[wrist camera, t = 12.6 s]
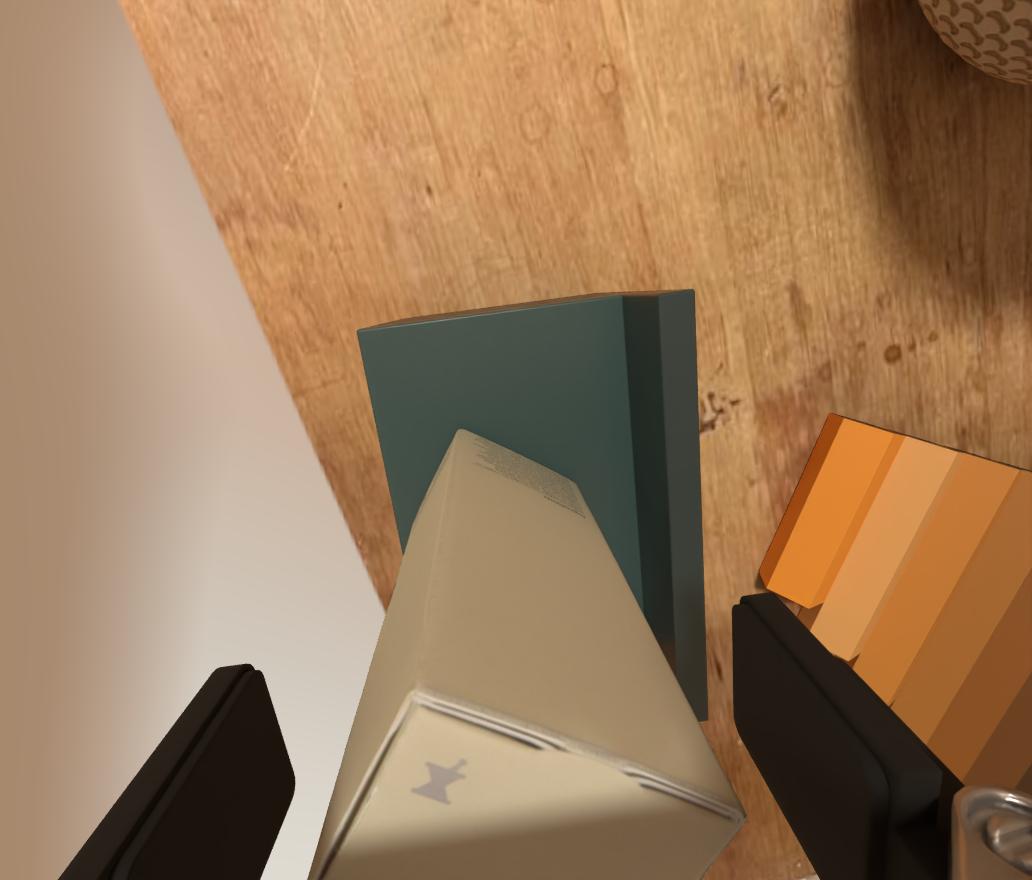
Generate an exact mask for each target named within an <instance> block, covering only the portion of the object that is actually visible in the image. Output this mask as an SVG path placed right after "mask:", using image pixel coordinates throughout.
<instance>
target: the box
mask: <svg viewBox="0 0 1032 880" xmlns="http://www.w3.org/2000/svg"><path fill="white" fill-rule="evenodd" d="M746 819H747V815H746V813H745V811H744V808H743V806H742V804H741V803H740V801H739V799H738V797H737V795H736V793H735V791H734V790H733V788H732V786H731V784H730V782H729V780H728V778H727V776H726V774H725V772H724V770H723V768H722V766H721V764H720V763H719V761H718V759H717V757H716V755H715V753H714V751H713V749H712V748H711V746H710V744H709V742H708V740H707V738H706V736H705V734H704V732H703V730H702V728H701V726H700V724H699V722H698V720H697V718H696V716H695V714H694V712H693V710H692V708H691V706H690V705H689V703H688V701H687V699H686V697H685V695H684V693H683V691H682V689H681V687H680V685H679V683H678V681H677V679H676V677H675V675H674V673H673V672H672V670H671V668H670V666H669V664H668V662H667V660H666V658H665V656H664V654H663V652H662V650H661V648H660V646H659V644H658V642H657V640H656V638H655V636H654V634H653V632H652V630H651V628H650V626H649V624H648V623H647V621H646V619H645V617H644V615H643V613H642V611H641V609H640V607H639V605H638V603H637V601H636V599H635V597H634V595H633V593H632V591H631V589H630V587H629V585H628V583H627V581H626V579H625V577H624V575H623V573H622V571H621V569H620V567H619V565H618V563H617V561H616V559H615V558H614V556H613V554H612V552H611V550H610V548H609V546H608V544H607V542H606V540H605V538H604V536H603V534H602V532H601V530H600V528H599V526H598V524H597V522H596V520H595V519H594V517H593V515H592V513H591V511H590V509H589V507H588V505H587V503H586V501H585V499H584V497H583V495H582V493H581V491H580V489H579V487H578V485H577V484H576V483H575V482H573V481H571V480H569V479H568V478H566V477H564V476H562V475H560V474H558V473H556V472H554V471H552V470H550V469H548V468H546V467H544V466H542V465H540V464H538V463H536V462H534V461H532V460H530V459H528V458H526V457H524V456H522V455H520V454H517V453H515V452H513V451H511V450H509V449H507V448H505V447H503V446H500V445H498V444H496V443H494V442H492V441H489V440H487V439H485V438H483V437H480V436H478V435H476V434H474V433H472V432H469V431H467V430H464V429H459V430H458V431H457V432H456V434H455V436H454V439H453V441H452V442H451V444H450V446H449V448H448V450H447V452H446V454H445V456H444V458H443V460H442V462H441V464H440V466H439V468H438V470H437V472H436V474H435V476H434V478H433V480H432V482H431V484H430V487H429V489H428V491H427V493H426V495H425V497H424V499H423V502H422V504H421V506H420V508H419V511H418V513H417V515H416V518H415V520H414V523H413V525H412V529H411V533H410V536H409V539H408V543H407V546H406V549H405V553H404V556H403V559H402V563H401V566H400V569H399V573H398V576H397V580H396V583H395V586H394V590H393V593H392V595H391V599H390V603H389V607H388V610H387V613H386V616H385V619H384V622H383V625H382V629H381V632H380V636H379V639H378V642H377V646H376V649H375V652H374V655H373V659H372V662H371V665H370V669H369V672H368V675H367V679H366V682H365V686H364V689H363V693H362V696H361V699H360V702H359V706H358V709H357V712H356V716H355V719H354V722H353V726H352V729H351V732H350V735H349V739H348V742H347V745H346V749H345V753H344V756H343V760H342V763H341V767H340V770H339V773H338V776H337V780H336V783H335V787H334V790H333V794H332V797H331V800H330V803H329V807H328V810H327V814H326V817H325V821H324V824H323V828H322V832H321V835H320V839H319V842H318V846H317V849H316V852H315V856H314V859H313V863H312V866H311V870H310V872H309V876H308V879H307V880H701V878H702V877H703V876H704V874H705V873H706V872H707V870H708V869H709V868H710V866H711V865H712V864H713V863H714V861H715V860H716V859H717V858H718V856H719V855H720V854H721V853H722V851H723V850H724V849H725V848H726V846H727V845H728V844H729V842H730V841H731V840H732V839H733V837H734V836H735V835H736V833H737V832H738V831H739V830H740V828H741V827H742V826H743V824H744V823H745V822H746Z"/></svg>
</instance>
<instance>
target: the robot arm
mask: <svg viewBox="0 0 1032 880" xmlns="http://www.w3.org/2000/svg"><path fill="white" fill-rule="evenodd" d="M732 642H733V707H734V720H735V724H736V728H737V731H738V733H739V735H740V737H741V739H742V741H743V743H744V744H745V746H746V748H747V750H748V752H749V753H750V755H751V757H752V759H753V761H754V762H755V764H756V766H757V768H758V769H759V771H760V773H761V775H762V777H763V778H764V780H765V782H766V784H767V786H768V787H769V789H770V791H771V793H772V794H773V796H774V798H775V800H776V802H777V803H778V805H779V807H780V809H781V811H782V812H783V814H784V816H785V818H786V819H787V821H788V823H789V825H790V827H791V828H792V830H793V832H794V834H795V836H796V837H797V839H798V841H799V843H800V844H801V846H802V848H803V850H804V852H805V853H806V855H807V857H808V859H809V861H810V862H811V864H812V866H813V868H814V869H815V871H816V873H817V875H818V877H819V878H820V880H1032V795H1029V794H1027V793H1025V792H1022V791H1020V790H1017V789H1013V788H1009V787H1005V786H1002V785H998V784H982V783H978V784H973V785H969V786H965V785H964V784H963V783H962V782H961V781H960V780H959V779H958V778H957V777H956V776H955V775H954V774H953V773H952V772H951V771H950V769H949V768H948V767H947V766H946V765H945V764H944V763H943V762H942V761H941V760H940V759H939V758H938V757H937V756H936V755H935V754H934V753H933V752H932V751H931V750H930V749H929V748H928V747H927V746H926V745H925V744H924V743H923V741H922V740H921V739H920V738H919V737H918V736H917V735H916V734H915V733H914V732H913V731H912V730H911V729H910V728H909V727H908V726H907V725H906V724H905V723H904V722H903V721H902V720H901V719H900V718H899V717H898V716H897V715H896V713H895V712H894V711H893V710H892V709H891V708H890V707H889V706H888V705H887V704H886V703H885V702H884V701H883V700H882V699H881V698H880V697H879V696H878V695H877V694H876V693H875V692H874V691H873V690H872V689H871V688H870V687H869V685H868V684H867V683H866V682H865V681H864V680H863V679H862V678H861V677H860V676H859V675H858V674H857V673H856V672H855V671H854V670H853V669H852V668H851V667H850V666H849V665H848V664H847V663H846V662H844V661H843V660H842V659H840V658H837V657H834V656H833V655H832V654H831V653H830V652H829V651H828V650H827V649H826V648H825V646H824V645H823V644H822V643H821V642H820V641H819V640H818V639H817V638H816V637H815V636H814V635H813V634H812V633H811V632H810V631H809V630H808V628H807V627H806V626H805V625H804V624H803V623H802V622H801V621H800V620H799V619H798V618H797V617H796V616H795V615H794V614H793V613H792V612H791V611H790V609H789V608H788V607H787V606H786V605H785V604H784V603H783V602H782V601H781V600H780V599H779V598H778V597H777V596H776V595H775V594H774V593H771V592H769V593H761V594H754V595H747V596H743V597H741V599H740V604H738V605H734V606H733V608H732ZM294 791H295V776H294V771H293V768H292V765H291V762H290V759H289V755H288V753H287V749H286V746H285V743H284V740H283V736H282V733H281V730H280V726H279V724H278V720H277V717H276V714H275V710H274V707H273V704H272V701H271V698H270V694H269V691H268V688H267V685H266V682H265V678H264V675H263V674H262V672H261V671H260V670H255V669H254V667H253V666H252V665H251V664H241V665H233V666H226V667H220V668H217V669H216V670H215V671H214V672H213V673H212V674H211V676H210V677H209V678H208V680H207V681H206V682H205V684H204V685H203V686H202V688H201V689H200V690H199V692H198V693H197V694H196V696H195V697H194V698H193V700H192V701H191V703H190V704H189V705H188V706H187V708H186V709H185V710H184V712H183V713H182V714H181V716H180V717H179V718H178V720H177V721H176V722H175V724H174V725H173V726H172V728H171V729H170V730H169V732H168V733H167V734H166V736H165V737H164V738H163V740H162V741H161V743H160V744H159V745H158V746H157V748H156V749H155V750H154V752H153V753H152V754H151V756H150V757H149V759H148V760H147V761H146V763H145V764H144V765H143V767H142V768H141V769H140V771H139V772H138V773H137V775H136V776H135V777H134V779H133V780H132V781H131V783H130V784H129V785H128V787H127V788H126V789H125V791H124V792H123V793H122V795H121V796H120V797H119V799H118V800H117V801H116V803H115V804H114V805H113V807H112V808H111V809H110V811H109V812H108V814H107V815H106V816H105V818H104V819H103V820H102V821H101V823H100V824H99V825H98V827H97V828H96V829H95V831H94V832H93V834H92V835H91V836H90V837H89V839H88V840H87V841H86V843H85V844H84V845H83V847H82V848H81V850H80V851H79V852H78V854H77V855H76V856H75V857H74V859H73V860H72V861H71V863H70V864H69V866H68V867H67V868H66V870H65V871H64V872H63V874H62V875H61V876H60V878H59V879H58V880H260V878H261V876H262V873H263V871H264V868H265V866H266V864H267V861H268V859H269V856H270V854H271V851H272V849H273V846H274V844H275V841H276V839H277V836H278V834H279V831H280V828H281V826H282V824H283V821H284V819H285V816H286V814H287V811H288V809H289V806H290V804H291V801H292V798H293V795H294Z"/></svg>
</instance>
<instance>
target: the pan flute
mask: <svg viewBox="0 0 1032 880" xmlns="http://www.w3.org/2000/svg"><path fill="white" fill-rule="evenodd" d="M759 573H760V575H761V577H762V580H763V582H764V584H765V586H766V588H767V589H769V590H771V591H773V592H775V593H777V594H779V595H781V596H784V597H786V598H788V599H790V600H792V601H794V602H796V603H798V604H800V605H802V608H801V610H800V612H799V615H798V617H797V618H798V619H799V620H800V621H801V622H802V623H803V624H804V625H805V626H806V627H807V628H808V630H809V631H810V632H811V633H812V634H813V635H814V636H815V637H816V638H817V639H818V640H819V641H820V642H821V643H822V644H823V645H824V646H825V648H826V649H827V650H828V651H829V652H831V653H833V654H835V655H836V656H835V657H837V658H840V659H842V660H843V661H844V662H846V663H847V664H848V665H849V666H850V667H851V668H852V669H853V670H854V671H855V672H856V673H857V674H858V675H859V676H860V677H861V678H862V679H863V680H864V681H865V682H866V683H867V684H868V685H869V687H870V688H871V689H872V690H873V691H874V692H875V693H876V694H877V695H878V696H879V697H880V698H881V699H882V700H883V701H884V702H885V703H886V704H887V705H888V706H889V707H890V708H891V709H892V710H893V711H894V712H895V713H896V715H897V716H898V717H899V718H900V719H901V720H902V721H903V722H904V723H905V724H906V725H907V726H908V727H909V728H910V729H911V730H912V731H913V732H914V733H915V734H916V735H917V736H918V737H919V738H920V739H921V740H922V741H923V743H924V744H925V745H926V746H927V747H928V748H929V749H930V750H931V751H932V752H933V753H934V754H935V755H936V756H937V757H938V758H939V759H940V760H941V761H942V762H943V763H944V764H945V765H946V766H947V767H948V768H949V769H950V771H951V772H952V773H953V774H954V775H955V776H956V777H957V778H958V779H959V780H960V781H961V782H962V783H963V784H964V785H965V786H969V785H973V784H978V783H982V784H998V785H1002V786H1005V787H1009V788H1013V789H1017V790H1020V791H1022V792H1025V793H1027V794H1029V795H1032V471H1030V470H1026V469H1023V468H1019V467H1016V466H1012V465H1009V464H1006V463H1002V462H999V461H998V462H997V461H994V460H991V459H987V458H984V457H981V456H978V455H975V454H971V453H968V452H964V451H961V450H957V449H954V448H950V447H947V446H942V445H938V444H935V443H932V442H929V441H926V440H923V439H919V438H916V437H913V436H909V435H906V434H902V433H899V432H895V431H892V430H886V429H883V428H880V427H877V426H874V425H871V424H868V423H864V422H861V421H857V420H854V419H851V418H847V417H844V416H840V415H837V414H833V413H830V414H829V416H828V419H827V421H826V423H825V425H824V428H823V430H822V432H821V434H820V436H819V439H818V441H817V443H816V445H815V448H814V450H813V452H812V454H811V457H810V459H809V461H808V463H807V465H806V468H805V470H804V472H803V474H802V477H801V479H800V481H799V483H798V485H797V488H796V490H795V492H794V494H793V497H792V499H791V501H790V503H789V506H788V508H787V510H786V512H785V514H784V517H783V519H782V521H781V523H780V526H779V528H778V530H777V532H776V535H775V537H774V539H773V541H772V543H771V546H770V548H769V550H768V552H767V555H766V557H765V559H764V561H763V564H762V566H761V568H760V570H759Z"/></svg>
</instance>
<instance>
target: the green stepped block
mask: <svg viewBox="0 0 1032 880" xmlns="http://www.w3.org/2000/svg"><path fill="white" fill-rule="evenodd" d="M357 336H358V341H359V346H360V350H361V355H362V360H363V365H364V370H365V375H366V379H367V384H368V389H369V394H370V399H371V403H372V408H373V413H374V418H375V423H376V428H377V432H378V437H379V442H380V447H381V452H382V457H383V461H384V466H385V471H386V476H387V481H388V485H389V490H390V495H391V500H392V505H393V510H394V514H395V519H396V524H397V529H398V534H399V538H400V543H401V548H402V553H403V556H404V553H405V549H406V546H407V543H408V539H409V536H410V533H411V529H412V525H413V523H414V520H415V518H416V515H417V513H418V511H419V508H420V506H421V504H422V502H423V499H424V497H425V495H426V493H427V491H428V489H429V487H430V484H431V482H432V480H433V478H434V476H435V474H436V472H437V470H438V468H439V466H440V464H441V462H442V460H443V458H444V456H445V454H446V452H447V450H448V448H449V446H450V444H451V442H452V441H453V439H454V436H455V434H456V432H457V431H458V430H459V429H464V430H467V431H469V432H472V433H474V434H476V435H478V436H480V437H483V438H485V439H487V440H489V441H492V442H494V443H496V444H498V445H500V446H503V447H505V448H507V449H509V450H511V451H513V452H515V453H517V454H520V455H522V456H524V457H526V458H528V459H530V460H532V461H534V462H536V463H538V464H540V465H542V466H544V467H546V468H548V469H550V470H552V471H554V472H556V473H558V474H560V475H562V476H564V477H566V478H568V479H569V480H571V481H573V482H575V483H576V484H577V485H578V487H579V489H580V491H581V493H582V495H583V497H584V499H585V501H586V503H587V505H588V507H589V509H590V511H591V513H592V515H593V517H594V519H595V520H596V522H597V524H598V526H599V528H600V530H601V532H602V534H603V536H604V538H605V540H606V542H607V544H608V546H609V548H610V550H611V552H612V554H613V556H614V558H615V559H616V561H617V563H618V565H619V567H620V569H621V571H622V573H623V575H624V577H625V579H626V581H627V583H628V585H629V587H630V589H631V591H632V593H633V595H634V597H635V599H636V601H637V603H638V605H639V607H640V609H641V611H642V613H643V615H644V617H645V619H646V621H647V623H648V624H649V626H650V628H651V630H652V632H653V634H654V636H655V638H656V640H657V642H658V644H659V646H660V648H661V650H662V652H663V654H664V656H665V658H666V660H667V662H668V664H669V666H670V668H671V670H672V672H673V673H674V675H675V677H676V679H677V681H678V683H679V685H680V687H681V689H682V691H683V693H684V695H685V697H686V699H687V701H688V703H689V705H690V706H691V708H692V710H693V712H694V714H695V716H696V718H697V720H698V722H702V721H707V720H708V689H707V658H706V627H705V596H704V565H703V535H702V504H701V473H700V442H699V411H698V380H697V349H696V318H695V291H694V290H693V289H682V290H658V291H636V292H612V293H594V294H587V295H579V296H572V297H564V298H557V299H549V300H542V301H534V302H526V303H519V304H511V305H504V306H496V307H489V308H481V309H474V310H466V311H459V312H451V313H444V314H436V315H428V316H421V317H413V318H406V319H401V320H396V321H392V322H388V323H384V324H379V325H375V326H371V327H367V328H362V329H358V330H357Z"/></svg>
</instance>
